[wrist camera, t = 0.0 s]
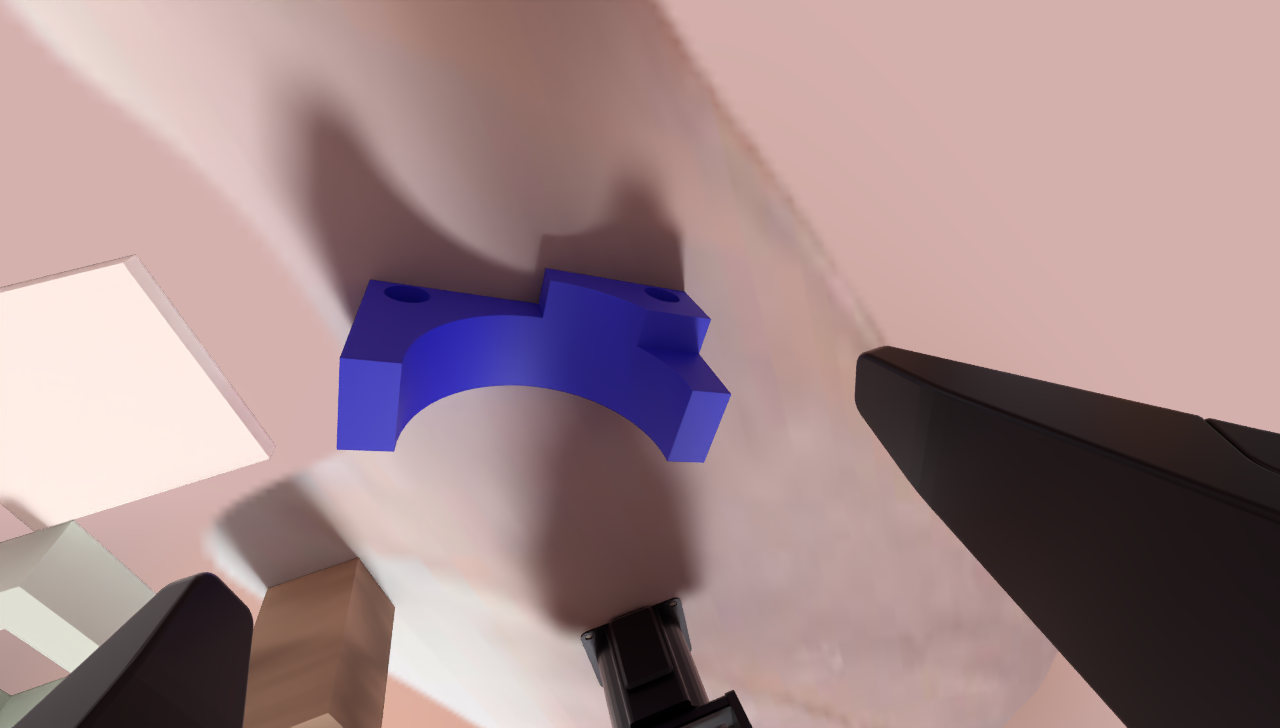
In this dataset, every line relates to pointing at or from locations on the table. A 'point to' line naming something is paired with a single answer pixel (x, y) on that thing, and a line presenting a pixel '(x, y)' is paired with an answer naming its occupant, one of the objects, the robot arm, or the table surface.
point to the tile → (109, 396)
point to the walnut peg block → (321, 652)
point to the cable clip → (532, 357)
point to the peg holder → (62, 601)
